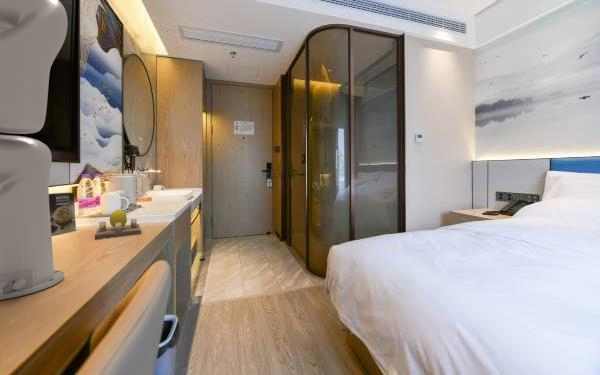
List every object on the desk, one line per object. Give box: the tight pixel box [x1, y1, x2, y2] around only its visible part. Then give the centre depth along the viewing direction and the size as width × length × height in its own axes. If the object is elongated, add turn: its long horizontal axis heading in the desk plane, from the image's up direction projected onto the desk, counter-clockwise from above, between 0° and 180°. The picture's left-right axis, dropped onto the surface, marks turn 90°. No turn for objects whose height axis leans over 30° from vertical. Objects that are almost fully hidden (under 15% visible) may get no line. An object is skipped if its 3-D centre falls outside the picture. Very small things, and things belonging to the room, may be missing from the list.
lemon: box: [109, 209, 128, 228], centre depth 100 cm, size 6×6×8 cm
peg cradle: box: [94, 218, 142, 241], centre depth 100 cm, size 14×14×5 cm
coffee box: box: [49, 192, 77, 237], centre depth 101 cm, size 9×6×16 cm
